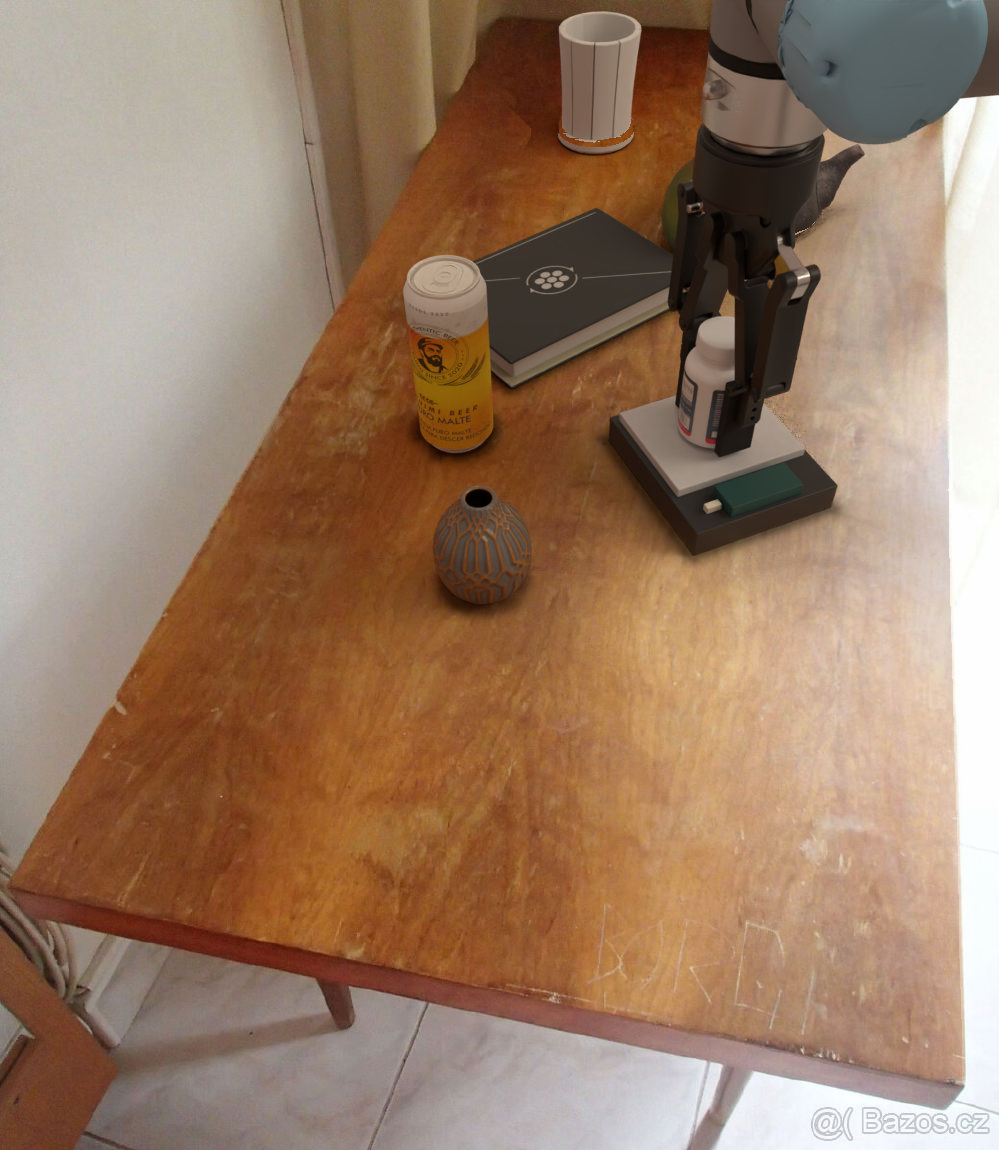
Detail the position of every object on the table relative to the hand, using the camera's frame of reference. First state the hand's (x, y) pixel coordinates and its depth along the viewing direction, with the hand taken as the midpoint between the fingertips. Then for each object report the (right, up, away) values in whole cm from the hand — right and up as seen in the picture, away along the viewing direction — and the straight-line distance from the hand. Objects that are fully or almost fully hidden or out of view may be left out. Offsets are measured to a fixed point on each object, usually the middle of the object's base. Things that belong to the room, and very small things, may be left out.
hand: (711, 425), depth 76 cm
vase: (-17, -12, -4) cm, 22 cm away
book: (-11, +14, +17) cm, 25 cm away
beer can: (-20, 0, +6) cm, 21 cm away
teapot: (+12, +28, +28) cm, 42 cm away
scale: (+1, -4, +2) cm, 4 cm away
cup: (-5, +40, +39) cm, 56 cm away
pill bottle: (0, 0, 0) cm, 0 cm away
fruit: (+5, +20, +22) cm, 30 cm away
